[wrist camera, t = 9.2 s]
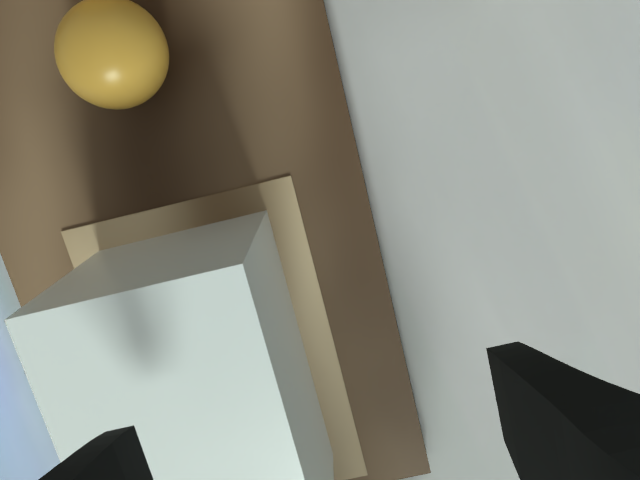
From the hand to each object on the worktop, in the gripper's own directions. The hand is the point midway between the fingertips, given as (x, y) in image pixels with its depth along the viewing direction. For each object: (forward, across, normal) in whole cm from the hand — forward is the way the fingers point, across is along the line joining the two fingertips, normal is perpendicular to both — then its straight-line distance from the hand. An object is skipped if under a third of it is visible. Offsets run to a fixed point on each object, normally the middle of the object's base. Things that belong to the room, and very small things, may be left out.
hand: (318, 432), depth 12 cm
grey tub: (+8, +4, +1) cm, 9 cm away
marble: (+7, +4, -9) cm, 12 cm away
